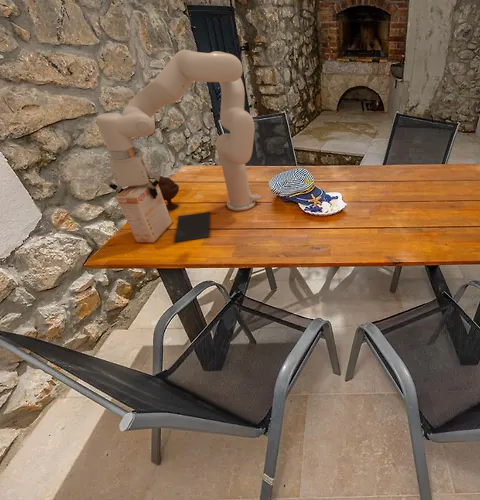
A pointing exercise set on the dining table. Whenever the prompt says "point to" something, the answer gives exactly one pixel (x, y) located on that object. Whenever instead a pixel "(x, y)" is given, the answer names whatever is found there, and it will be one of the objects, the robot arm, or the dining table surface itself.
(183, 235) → the mat
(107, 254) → the dining table surface
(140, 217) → the coffeecake box
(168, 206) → the ice cream bowl
